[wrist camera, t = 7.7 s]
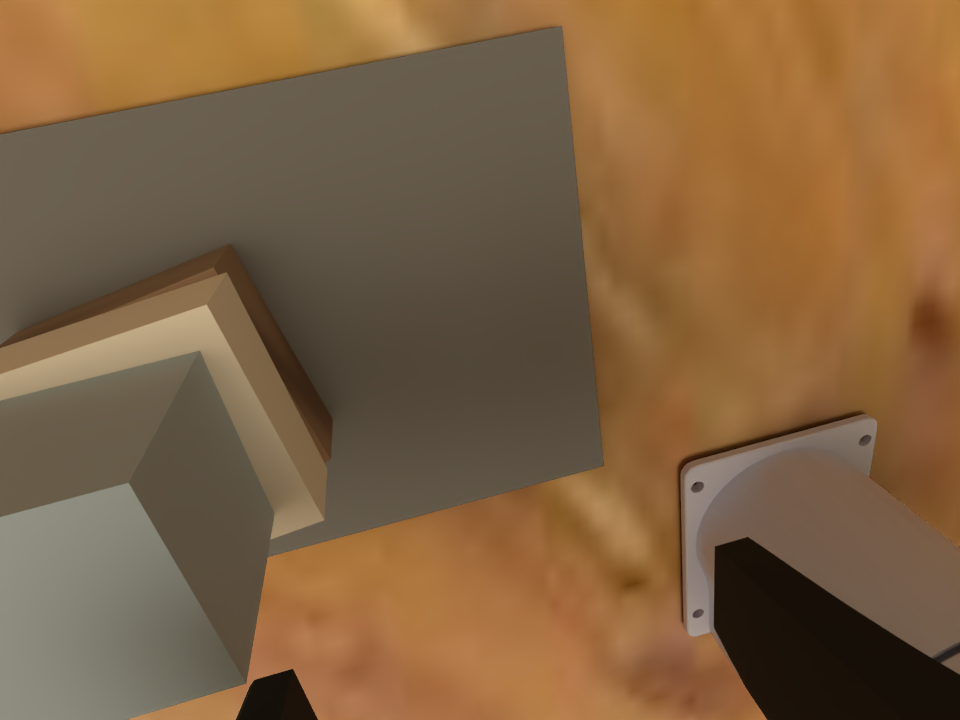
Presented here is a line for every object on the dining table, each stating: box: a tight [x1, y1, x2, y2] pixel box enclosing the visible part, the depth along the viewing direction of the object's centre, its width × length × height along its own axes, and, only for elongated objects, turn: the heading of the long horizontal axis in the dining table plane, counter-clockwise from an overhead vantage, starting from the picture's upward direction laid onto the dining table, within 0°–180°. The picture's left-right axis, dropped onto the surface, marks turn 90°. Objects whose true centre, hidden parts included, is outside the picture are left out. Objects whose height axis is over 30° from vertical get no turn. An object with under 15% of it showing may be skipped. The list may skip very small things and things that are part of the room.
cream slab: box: [0, 272, 327, 540], centre depth 14 cm, size 6×6×2 cm
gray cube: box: [0, 351, 275, 720], centre depth 11 cm, size 4×4×4 cm
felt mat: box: [0, 26, 604, 557], centre depth 18 cm, size 14×18×1 cm
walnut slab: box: [0, 244, 333, 463], centre depth 16 cm, size 6×6×2 cm
